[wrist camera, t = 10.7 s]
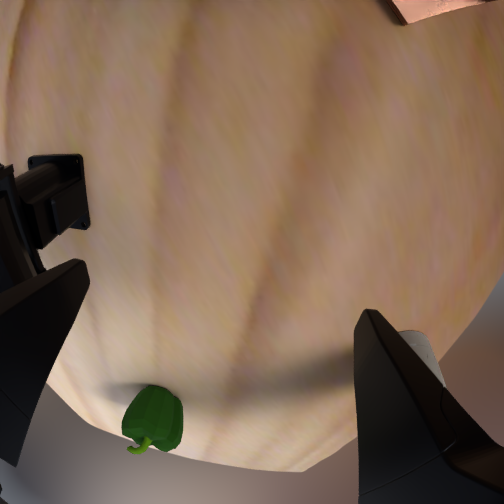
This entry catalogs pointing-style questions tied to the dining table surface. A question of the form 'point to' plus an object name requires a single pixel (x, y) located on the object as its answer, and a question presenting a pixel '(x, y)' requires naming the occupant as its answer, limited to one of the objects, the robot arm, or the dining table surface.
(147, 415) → the bell pepper
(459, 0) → the plate
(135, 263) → the dining table surface
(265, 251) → the dining table surface
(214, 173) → the dining table surface
